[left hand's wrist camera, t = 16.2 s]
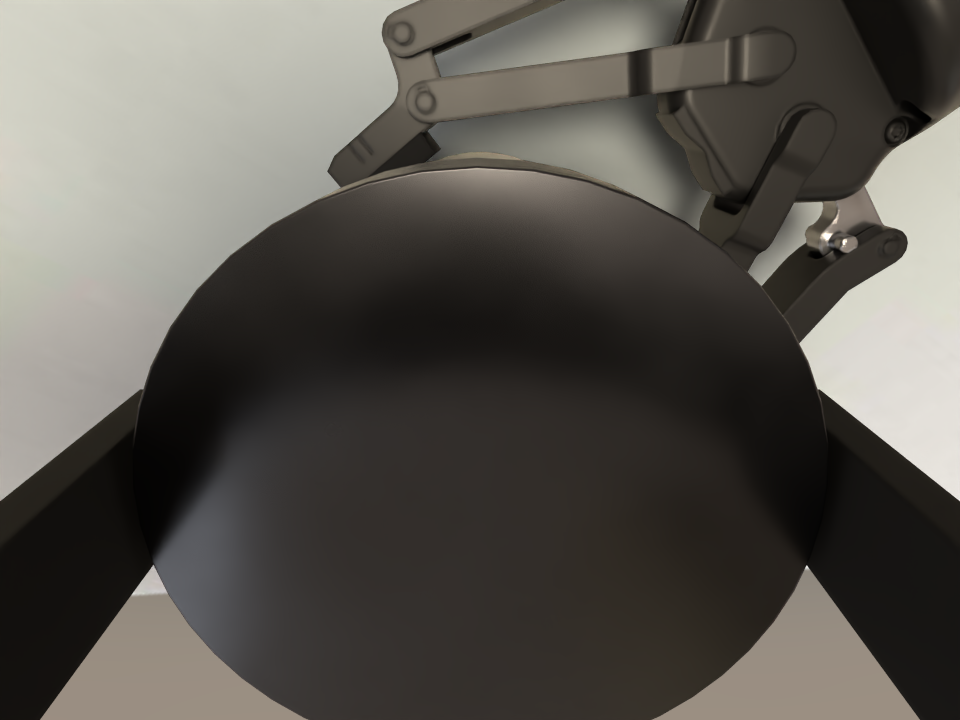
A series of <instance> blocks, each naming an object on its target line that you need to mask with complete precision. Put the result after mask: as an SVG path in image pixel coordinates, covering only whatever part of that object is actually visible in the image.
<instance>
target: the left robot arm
mask: <svg viewBox="0 0 960 720" xmlns="http://www.w3.org/2000/svg"><path fill="white" fill-rule="evenodd" d="M142 393H143V390H139V391H138V392H137V393H135V394H134V395H133V396H132V397H130V398H129V399H128V400H127V401H125V402H124V403H123V404H122V405H120V406H119V407H118V408H117V409H115V410H114V411H113V412H112V413H110V414H109V415H108V416H107V417H105V418H104V419H103V420H102V421H100V422H99V423H98V424H97V425H95V426H94V427H93V428H92V429H90V430H89V431H88V432H87V433H85V434H84V435H83V436H82V437H80V438H79V439H78V440H76V441H75V442H74V443H73V444H71V445H70V446H69V447H68V448H66V449H65V450H64V451H63V452H61V453H60V454H59V455H58V456H56V457H55V458H54V459H53V460H51V461H50V462H49V463H48V464H46V465H45V466H44V467H43V468H41V469H40V470H39V471H38V472H36V473H35V474H34V475H33V476H31V477H30V478H29V479H28V480H26V481H25V482H24V483H23V484H21V485H20V486H19V487H18V488H16V489H15V490H14V491H13V492H11V493H10V494H9V495H8V496H6V497H5V498H4V499H3V500H1V501H0V720H40V719H41V718H42V716H43V715H44V713H45V712H46V711H47V709H48V708H49V707H50V705H51V704H52V703H53V701H54V700H55V698H56V697H57V696H58V694H59V693H60V692H61V690H62V689H63V687H64V686H65V685H66V683H67V682H68V681H69V679H70V678H71V677H72V675H73V674H74V672H75V671H76V670H77V668H78V667H79V666H80V664H81V663H82V662H83V660H84V659H85V657H86V656H87V655H88V653H89V652H90V651H91V649H92V648H93V647H94V645H95V644H96V642H97V641H98V640H99V638H100V637H101V636H102V634H103V633H104V632H105V630H106V629H107V627H108V626H109V625H110V623H111V622H112V621H113V619H114V618H115V616H116V615H117V614H118V612H119V611H120V610H121V608H122V607H123V605H124V604H125V603H126V601H127V600H128V599H129V597H130V596H131V595H132V593H133V592H134V591H135V589H136V588H137V586H138V585H139V584H140V582H141V581H142V580H143V578H144V577H145V575H146V574H147V573H148V571H149V570H150V569H151V567H152V566H153V565H154V564H153V562H152V560H151V557H150V554H149V551H148V548H147V545H146V542H145V539H144V536H143V533H142V530H141V527H140V523H139V517H138V511H137V506H136V500H135V494H134V489H133V451H132V448H133V441H134V433H135V426H136V419H137V412H138V406H139V403H140V399H141V396H142ZM818 393H819V396H820V399H821V402H822V408H823V414H824V421H825V427H826V433H827V440H828V486H827V492H826V498H825V504H824V511H823V517H822V522H821V525H820V528H819V532H818V535H817V538H816V541H815V544H814V547H813V550H812V554H811V557H810V559H809V561H808V563H807V566H808V567H809V569H810V570H811V571H812V573H813V574H814V575H815V577H816V578H817V580H818V581H819V582H820V584H821V585H822V586H823V588H824V589H825V590H826V592H827V593H828V595H829V596H830V597H831V599H832V600H833V601H834V603H835V604H836V606H837V607H838V608H839V610H840V611H841V612H842V614H843V615H844V616H845V618H846V619H847V621H848V622H849V623H850V625H851V626H852V627H853V629H854V630H855V632H856V633H857V634H858V636H859V637H860V638H861V640H862V641H863V642H864V644H865V645H866V646H867V648H868V649H869V651H870V652H871V653H872V655H873V656H874V657H875V659H876V660H877V662H878V663H879V664H880V666H881V667H882V668H883V670H884V671H885V672H886V674H887V675H888V677H889V678H890V679H891V681H892V682H893V683H894V685H895V686H896V687H897V689H898V690H899V692H900V693H901V694H902V696H903V697H904V698H905V700H906V701H907V703H908V704H909V705H910V707H911V708H912V709H913V711H914V712H915V713H916V715H917V716H918V717H919V719H920V720H960V501H959V500H957V499H956V498H955V497H954V496H952V495H951V494H950V493H949V492H947V491H946V490H945V489H944V488H942V487H941V486H940V485H939V484H937V483H936V482H935V481H934V480H932V479H931V478H930V477H929V476H927V475H926V474H925V473H924V472H922V471H921V470H920V469H919V468H917V467H916V466H915V465H914V464H912V463H911V462H910V461H909V460H907V459H906V458H905V457H904V456H902V455H901V454H900V453H899V452H897V451H896V450H895V449H894V448H892V447H891V446H890V445H889V444H887V443H886V442H885V441H883V440H882V439H881V438H880V437H878V436H877V435H876V434H875V433H873V432H872V431H871V430H870V429H868V428H867V427H866V426H865V425H863V424H862V423H861V422H860V421H858V420H857V419H856V418H855V417H853V416H852V415H851V414H850V413H848V412H847V411H846V410H845V409H843V408H842V407H841V406H840V405H838V404H837V403H836V402H835V401H833V400H832V399H831V398H830V397H828V396H827V395H826V394H825V393H823V392H822V391H821V390H818Z"/></svg>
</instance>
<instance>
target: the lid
mask: <svg viewBox="0 0 960 720" xmlns="http://www.w3.org/2000/svg"><path fill="white" fill-rule="evenodd" d="M132 451H133V489H134V494H135V500H136V506H137V511H138V517H139V523H140V527H141V530H142V533H143V536H144V539H145V542H146V545H147V548H148V551H149V554H150V557H151V560H152V562H153V564H154V566H155V568H156V570H157V572H158V574H159V576H160V578H161V580H162V582H163V584H164V586H165V588H166V590H167V592H168V594H169V596H170V597H171V599H172V600H173V602H174V603H175V605H176V606H177V608H178V609H179V611H180V612H181V614H182V615H183V617H184V618H185V619H186V621H187V622H188V624H189V625H190V626H191V628H192V629H193V630H194V631H195V632H196V633H197V635H198V636H199V637H200V638H201V639H202V640H203V641H204V642H205V644H206V645H207V646H208V647H209V648H210V649H211V650H212V651H213V653H214V654H215V655H216V656H218V657H219V658H220V659H221V660H222V661H223V662H224V663H225V664H226V665H228V666H229V667H230V668H231V669H232V670H233V671H234V672H235V673H237V674H238V675H239V676H240V677H241V678H242V679H244V680H245V681H246V682H248V683H249V684H251V685H252V686H253V687H255V688H256V689H258V690H259V691H260V692H262V693H263V694H265V695H266V696H267V697H269V698H270V699H272V700H273V701H275V702H277V703H279V704H281V705H282V706H284V707H286V708H288V709H289V710H291V711H293V712H295V713H296V714H298V715H300V716H302V717H304V718H306V719H308V720H652V719H654V718H657V717H659V716H661V715H663V714H664V713H666V712H668V711H669V710H671V709H673V708H675V707H676V706H678V705H680V704H681V703H683V702H685V701H687V700H688V699H690V698H692V697H693V696H695V695H696V694H697V693H699V692H700V691H701V690H703V689H704V688H706V687H707V686H708V685H710V684H711V683H712V682H714V681H715V680H717V679H718V678H719V677H721V676H722V675H723V674H724V673H725V672H726V671H727V670H729V669H730V668H731V667H732V666H733V665H734V664H735V663H736V662H737V661H738V660H739V659H741V658H742V657H743V656H744V655H745V654H746V653H747V652H748V651H749V650H750V649H751V648H752V647H753V646H754V644H755V643H756V642H757V641H758V640H759V639H760V637H761V636H762V635H763V634H764V633H765V632H766V630H767V629H768V628H769V627H770V626H771V625H772V623H773V622H774V621H775V619H776V618H777V616H778V615H779V613H780V612H781V610H782V609H783V607H784V606H785V604H786V603H787V601H788V599H789V598H790V596H791V595H792V593H793V592H794V590H795V588H796V586H797V584H798V582H799V580H800V578H801V576H802V574H803V571H804V569H805V567H806V565H807V563H808V561H809V559H810V557H811V554H812V550H813V547H814V544H815V541H816V538H817V535H818V532H819V528H820V525H821V522H822V517H823V511H824V504H825V498H826V492H827V486H828V440H827V433H826V427H825V421H824V414H823V408H822V402H821V399H820V396H819V393H818V390H817V386H816V383H815V380H814V377H813V374H812V371H811V368H810V365H809V362H808V360H807V358H806V356H805V354H804V352H803V350H802V348H801V346H800V345H799V343H798V341H797V339H796V337H795V335H794V333H793V331H792V329H791V327H790V325H789V323H788V322H787V320H786V319H785V318H784V316H783V315H782V314H781V312H780V311H779V310H778V308H777V307H776V306H775V304H774V303H773V301H772V300H771V299H770V297H769V296H768V295H767V293H766V292H765V291H764V289H763V288H762V287H761V285H760V284H759V283H758V282H757V281H756V280H755V279H754V278H753V277H752V276H751V275H750V274H749V273H748V272H747V271H746V270H745V269H743V268H742V267H741V266H740V265H739V264H738V263H737V262H736V261H735V260H734V259H733V258H732V257H731V256H730V255H729V254H728V253H727V252H726V251H725V250H724V249H722V248H721V247H719V246H718V245H717V244H715V243H714V242H712V241H711V240H710V239H708V238H707V237H706V236H704V235H703V234H701V233H700V232H699V231H697V230H696V229H695V228H693V227H692V226H690V225H689V224H688V223H686V222H685V221H683V220H681V219H679V218H677V217H675V216H673V215H671V214H669V213H668V212H666V211H664V210H662V209H660V208H658V207H656V206H654V205H652V204H650V203H648V202H646V201H644V200H643V199H641V198H639V197H637V196H635V195H633V194H631V193H629V192H627V191H625V190H623V189H621V188H619V187H617V186H615V185H612V184H610V183H607V182H604V181H601V180H598V179H595V178H592V177H590V176H587V175H584V174H581V173H578V172H575V171H573V170H570V169H565V168H560V167H555V166H550V165H545V164H540V163H535V162H530V161H525V160H510V159H494V158H465V159H452V160H439V161H429V162H425V163H420V164H416V165H411V166H407V167H402V168H397V169H393V170H388V171H385V172H382V173H379V174H376V175H374V176H371V177H368V178H366V179H363V180H360V181H358V182H355V183H352V184H349V185H347V186H344V187H342V188H340V189H338V190H336V191H334V192H332V193H330V194H328V195H326V196H324V197H322V198H320V199H318V200H316V201H314V202H312V203H310V204H309V205H307V206H305V207H303V208H301V209H299V210H297V211H296V212H294V213H292V214H290V215H288V216H286V217H285V218H283V219H281V220H279V221H277V222H275V223H274V224H272V225H270V226H269V227H267V228H266V229H265V230H263V231H262V232H261V233H259V234H258V235H257V236H255V237H254V238H253V239H251V240H250V241H249V242H247V243H246V244H245V245H243V246H242V247H241V248H239V249H238V250H237V251H235V252H234V253H233V254H232V255H230V256H229V257H228V258H227V259H226V260H225V261H224V262H223V263H222V264H221V265H220V266H219V268H218V269H217V270H216V271H215V272H214V273H213V274H212V275H211V276H210V277H209V278H208V279H207V280H206V281H205V282H204V283H203V284H202V285H201V286H200V287H199V288H198V289H197V290H196V292H195V293H194V294H193V296H192V297H191V299H190V300H189V301H188V303H187V304H186V306H185V307H184V308H183V310H182V311H181V313H180V314H179V315H178V317H177V318H176V320H175V321H174V322H173V324H172V325H171V327H170V328H169V330H168V332H167V334H166V336H165V338H164V341H163V343H162V345H161V347H160V349H159V351H158V353H157V355H156V357H155V359H154V361H153V363H152V365H151V367H150V370H149V373H148V377H147V380H146V383H145V386H144V390H143V393H142V396H141V399H140V403H139V406H138V412H137V419H136V426H135V433H134V441H133V448H132Z"/></svg>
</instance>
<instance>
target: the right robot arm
mask: <svg viewBox="0 0 960 720" xmlns="http://www.w3.org/2000/svg"><path fill="white" fill-rule="evenodd" d="M562 1H564V0H419V1H417V2H415V3H413V4H410V5H408V6H406V7H403V8H401V9H399V10H397V11H394V12H393V13H392V14H390V15H389V16H388V17H387V18H386V20H385V22H384V23H383V28H382V37H383V42H384V43H385V45H386V47H387V48H388V51H389V54H390V57H391V60H392V63H393V66H394V69H395V71H396V74H397V78H398V94H397V97H396V99H395V101H394V103H393V104H392V105H391V106H390V107H389V108H388V109H387V110H386V111H385V112H384V113H382V114H381V115H380V116H379V117H378V118H377V119H376V120H375V121H373V122H372V123H371V124H370V125H369V126H368V127H367V128H365V129H364V130H363V131H362V132H361V133H360V134H359V135H358V136H357V137H355V138H354V139H353V140H352V141H351V142H350V143H349V144H348V145H346V146H345V147H344V148H343V149H342V150H341V151H340V152H338V153H337V154H336V155H335V156H334V158H333V160H332V162H331V165H330V167H329V169H328V171H327V172H328V173H329V174H330V175H331V176H332V178H333V179H334V180H335V181H336V182H337V184H338V185H339V186H340V187H341V188H342V187H344V186H347V185H349V184H352V183H355V182H358V181H360V180H363V179H366V178H368V177H371V176H374V175H376V174H379V173H382V172H385V171H388V170H393V169H397V168H402V167H407V166H411V165H416V164H420V163H425V162H426V161H427V160H428V159H429V158H431V157H432V156H433V155H434V154H435V153H437V152H438V151H439V150H440V149H441V148H440V147H439V146H438V145H437V143H436V142H435V141H434V139H433V138H432V137H431V135H430V134H429V133H428V130H429V129H430V128H432V127H433V126H434V125H435V124H436V123H437V122H444V121H452V120H460V119H467V118H475V117H482V116H490V115H497V114H505V113H513V112H520V111H528V110H535V109H543V108H551V107H558V106H566V105H573V104H581V103H589V102H596V101H604V100H611V99H619V98H627V97H634V96H642V95H649V94H657V104H658V109H659V112H658V113H657V114H655V115H656V116H657V118H658V120H659V121H660V123H661V124H662V126H663V128H664V129H665V131H666V132H667V134H668V135H670V136H671V137H672V138H673V139H674V140H675V141H676V142H678V143H679V144H680V145H681V146H682V147H683V148H684V149H685V151H686V155H687V158H688V162H689V165H690V169H691V172H692V173H693V175H694V177H695V178H696V180H697V181H698V183H699V184H700V186H701V188H702V189H703V190H706V191H709V192H711V193H712V195H711V197H710V199H709V201H708V203H707V205H706V207H705V209H704V211H703V213H702V215H701V218H700V228H699V232H700V233H701V234H703V235H704V236H706V237H707V238H708V239H710V240H711V241H712V242H714V243H715V244H717V245H718V246H719V247H721V248H722V249H724V250H725V251H726V252H727V253H728V254H729V255H730V256H731V257H732V258H733V259H734V260H735V261H736V262H737V263H738V264H739V265H740V266H741V267H742V268H743V269H745V270H746V271H747V272H748V270H749V268H750V267H751V265H752V263H753V261H754V259H755V258H756V256H757V255H758V254H759V253H761V252H763V251H765V250H766V249H767V248H768V247H769V246H770V244H771V243H772V241H773V240H774V238H775V236H776V234H777V233H778V231H779V229H780V227H781V225H782V224H783V222H784V220H785V218H786V216H787V214H788V213H789V211H790V209H791V207H792V205H793V204H794V203H801V202H823V211H822V214H821V216H820V218H819V219H818V220H817V221H816V222H815V223H814V224H813V225H811V226H809V227H808V228H807V230H806V232H805V237H806V243H805V244H804V245H802V246H801V247H799V248H798V249H797V250H796V251H795V252H794V253H792V254H791V255H790V256H789V257H788V258H787V259H786V260H785V261H784V262H783V263H782V264H781V265H780V266H779V267H778V268H777V269H776V271H775V272H774V273H773V274H772V275H771V276H770V277H769V279H768V280H767V281H766V282H765V283H764V284H763V285H762V288H763V289H764V291H765V292H766V293H767V295H768V296H769V297H770V299H771V300H772V301H773V303H774V304H775V306H776V307H777V308H778V310H779V311H780V312H781V314H782V315H783V316H784V318H785V319H786V320H787V322H788V323H789V325H790V327H791V329H792V331H793V333H794V335H795V337H796V339H797V341H798V343H800V342H801V341H802V340H803V339H804V338H805V336H806V335H807V334H808V333H809V332H810V331H811V330H812V329H813V328H814V327H815V326H816V325H817V324H818V322H819V321H820V320H821V319H822V318H823V317H824V316H825V315H826V314H827V313H828V312H829V311H830V310H831V308H832V307H833V306H834V305H835V304H836V303H837V302H838V301H839V300H840V299H841V298H842V297H843V296H844V295H845V293H846V292H847V291H848V290H850V289H852V288H853V287H855V286H857V285H858V284H860V283H862V282H863V281H865V280H867V279H868V278H870V277H872V276H873V275H875V274H877V273H878V272H880V271H882V270H883V269H885V268H887V267H888V266H890V265H892V264H893V263H895V262H896V261H898V260H899V259H900V258H901V257H902V256H903V254H904V253H905V251H906V249H907V244H908V242H907V237H906V235H905V234H904V233H903V232H902V231H900V230H898V229H895V228H891V227H887V226H884V225H883V224H882V222H881V220H880V218H879V216H878V213H877V211H876V209H875V207H874V205H873V203H872V201H871V199H870V196H869V194H868V192H867V190H866V188H865V185H866V184H867V182H868V181H869V180H870V178H871V177H872V175H873V173H874V172H875V170H876V168H877V167H878V166H879V164H880V163H881V162H882V160H883V159H884V158H885V157H886V156H887V155H888V154H889V153H890V152H891V151H892V150H893V149H894V148H896V147H897V146H899V145H900V144H902V143H904V142H906V141H907V140H909V139H911V138H913V137H914V136H916V135H918V134H919V133H921V132H923V131H924V130H926V129H928V128H929V127H931V126H932V125H934V124H935V123H937V122H938V121H940V120H941V119H943V118H944V117H945V116H947V115H948V114H950V113H951V112H953V111H954V110H956V109H957V108H958V107H960V0H688V2H687V5H686V8H685V11H684V14H683V16H682V19H681V22H680V25H679V28H678V30H677V33H676V36H675V39H674V41H673V44H672V45H670V46H663V47H655V48H649V49H643V50H638V51H633V52H627V53H620V54H613V55H605V56H598V57H590V58H583V59H576V60H568V61H561V62H553V63H546V64H539V65H531V66H524V67H516V68H509V69H502V70H494V71H487V72H479V73H472V74H465V75H457V76H450V77H442V78H441V76H440V72H439V69H438V66H437V63H436V60H435V57H434V56H435V55H437V54H440V53H442V52H444V51H447V50H449V49H451V48H454V47H456V46H458V45H461V44H463V43H465V42H468V41H470V40H472V39H475V38H477V37H480V36H482V35H484V34H487V33H489V32H491V31H494V30H496V29H498V28H501V27H503V26H505V25H508V24H510V23H512V22H515V21H517V20H520V19H522V18H524V17H527V16H529V15H531V14H534V13H536V12H538V11H541V10H543V9H545V8H548V7H550V6H552V5H555V4H557V3H560V2H562Z"/></svg>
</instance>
